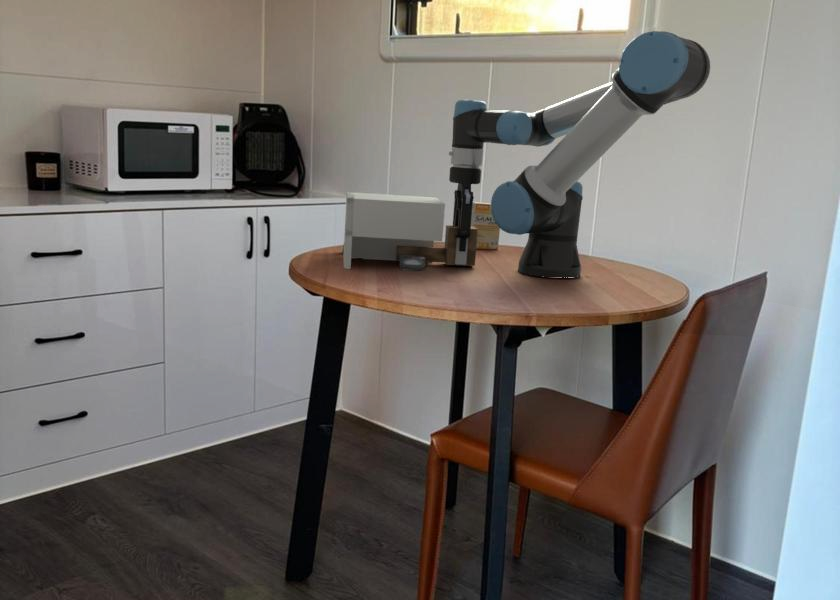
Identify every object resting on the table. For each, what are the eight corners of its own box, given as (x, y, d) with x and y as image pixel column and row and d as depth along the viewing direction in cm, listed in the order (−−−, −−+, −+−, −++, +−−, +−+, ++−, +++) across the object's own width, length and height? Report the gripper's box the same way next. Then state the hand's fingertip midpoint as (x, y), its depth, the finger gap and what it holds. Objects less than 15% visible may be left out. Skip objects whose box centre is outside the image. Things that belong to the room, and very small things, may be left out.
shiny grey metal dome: (423, 267, 191) (423, 255, 190) (425, 272, 185) (426, 259, 184) (398, 266, 190) (398, 253, 189) (400, 270, 184) (400, 258, 184)
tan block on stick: (471, 262, 198) (474, 226, 196) (474, 266, 193) (477, 229, 192) (395, 259, 196) (397, 222, 194) (396, 262, 191) (399, 225, 189)
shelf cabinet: (431, 261, 199) (436, 197, 195) (439, 273, 183) (445, 204, 180) (343, 257, 196) (346, 191, 193) (343, 268, 181) (347, 198, 177)
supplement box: (470, 249, 225) (474, 202, 222) (466, 246, 230) (470, 201, 227) (498, 250, 227) (502, 204, 224) (493, 247, 231) (497, 202, 229)
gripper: (445, 163, 199) (438, 255, 204) (455, 167, 181) (448, 268, 186) (474, 165, 200) (467, 257, 205) (488, 169, 182) (480, 269, 187)
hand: (458, 262), depth 195 cm, fingers closed on tan block on stick, 5 cm apart
